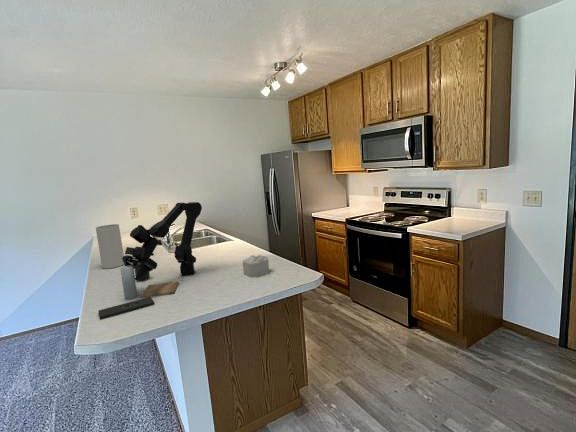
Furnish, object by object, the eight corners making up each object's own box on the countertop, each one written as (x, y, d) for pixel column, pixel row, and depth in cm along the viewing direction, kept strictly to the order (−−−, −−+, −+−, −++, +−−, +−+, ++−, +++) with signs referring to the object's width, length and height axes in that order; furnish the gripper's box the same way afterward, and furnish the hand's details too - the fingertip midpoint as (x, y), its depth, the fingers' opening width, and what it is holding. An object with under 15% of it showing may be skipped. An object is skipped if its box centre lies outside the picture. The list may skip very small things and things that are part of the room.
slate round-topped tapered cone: (138, 294, 148) (134, 264, 146) (135, 298, 143) (131, 268, 141) (126, 295, 147) (122, 266, 145) (123, 300, 142) (118, 269, 140)
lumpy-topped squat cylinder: (241, 273, 167) (240, 257, 166) (262, 267, 175) (261, 252, 173) (251, 278, 159) (250, 261, 157) (273, 271, 166) (272, 255, 165)
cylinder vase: (123, 266, 197) (117, 226, 193) (100, 270, 192) (93, 229, 188) (125, 261, 208) (120, 223, 204) (103, 265, 204) (97, 226, 200)
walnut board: (178, 283, 159) (178, 281, 159) (174, 293, 146) (173, 291, 145) (148, 287, 157) (148, 285, 157) (141, 298, 143) (140, 295, 143)
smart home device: (154, 301, 135) (99, 316, 124) (155, 305, 135) (100, 321, 124) (150, 296, 141) (98, 309, 131) (151, 299, 142) (98, 314, 131)
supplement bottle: (153, 277, 172) (150, 255, 170) (144, 281, 165) (140, 259, 163) (142, 276, 174) (139, 255, 172) (133, 281, 167) (129, 259, 165)
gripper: (122, 238, 151) (102, 268, 143) (148, 240, 142) (128, 272, 134) (140, 250, 159) (122, 279, 151) (165, 253, 149) (147, 284, 142)
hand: (129, 278), depth 144 cm, fingers open, 9 cm apart
